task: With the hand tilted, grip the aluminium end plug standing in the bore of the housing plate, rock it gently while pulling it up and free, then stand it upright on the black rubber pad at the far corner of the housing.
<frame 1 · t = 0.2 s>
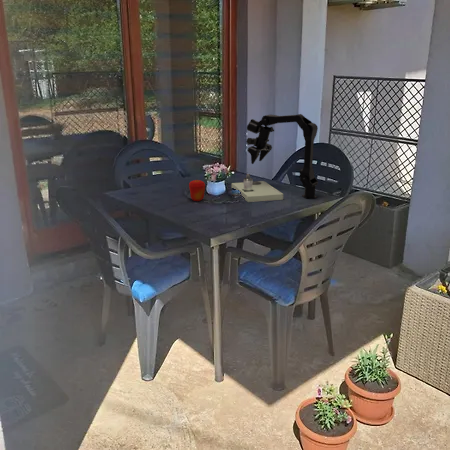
hand: (256, 162, 283), 15 cm above the table, tool tilted 15°, fingers open, 9 cm apart
housing: (256, 193, 277), on the table
end cover: (247, 195, 273), resting in housing
red cylinder: (197, 200, 264), on the table
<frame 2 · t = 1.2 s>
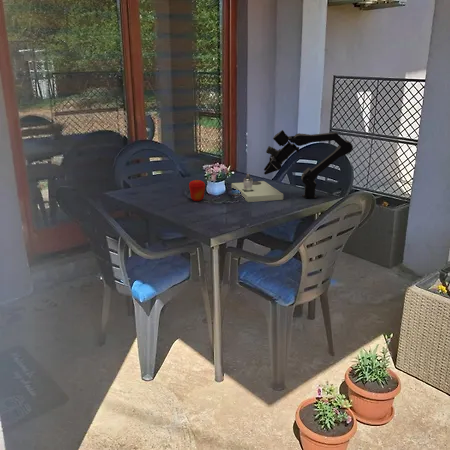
hand: (264, 172, 268), 13 cm above the table, tool tilted 45°, fingers open, 9 cm apart
nothing on the table moved.
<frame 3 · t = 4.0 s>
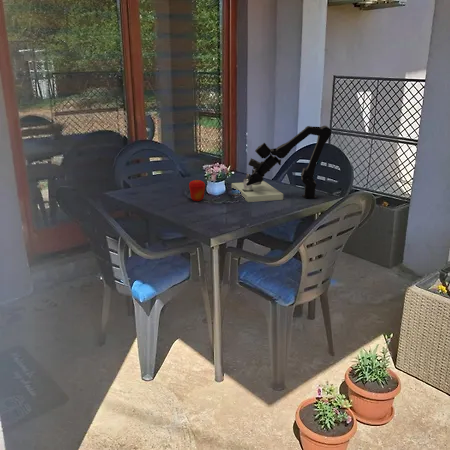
hand: (246, 183, 271), 7 cm above the table, tool tilted 45°, fingers closed on end cover, 5 cm apart
end cover: (247, 195, 273), resting in housing, touching gripper
everything else where it was.
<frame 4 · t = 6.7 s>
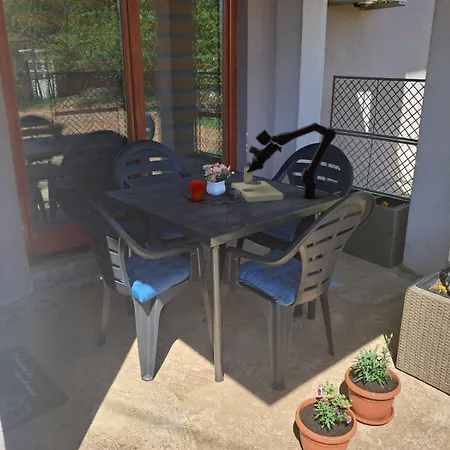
hand: (247, 171, 269), 13 cm above the table, tool tilted 45°, fingers closed on end cover, 5 cm apart
end cover: (248, 183, 271), point 7 cm above the table, touching gripper
everything else where it was.
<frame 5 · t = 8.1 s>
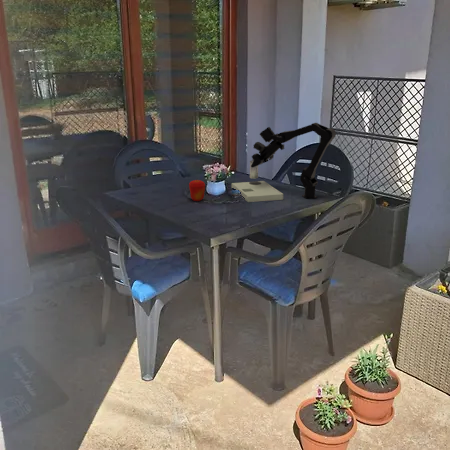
hand: (253, 166, 282), 13 cm above the table, tool tilted 45°, fingers closed on end cover, 5 cm apart
end cover: (253, 177, 284), point 7 cm above the table, touching gripper
everything else where it was.
when the fingers open (11 cm above the table, at t = 9.4 s): end cover drops 1 cm, resting on housing.
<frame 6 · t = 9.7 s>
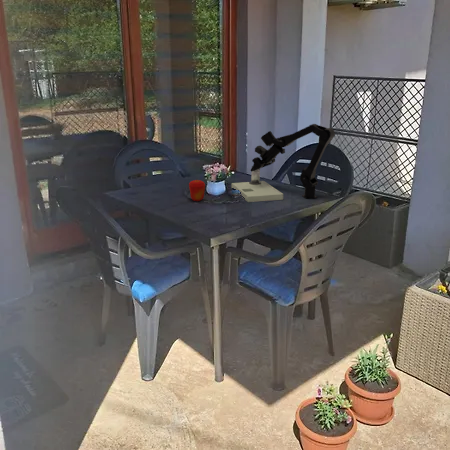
hand: (254, 169, 285), 11 cm above the table, tool tilted 45°, fingers open, 8 cm apart
end cover: (255, 182, 287), point 3 cm above the table, touching housing
everything else where it was.
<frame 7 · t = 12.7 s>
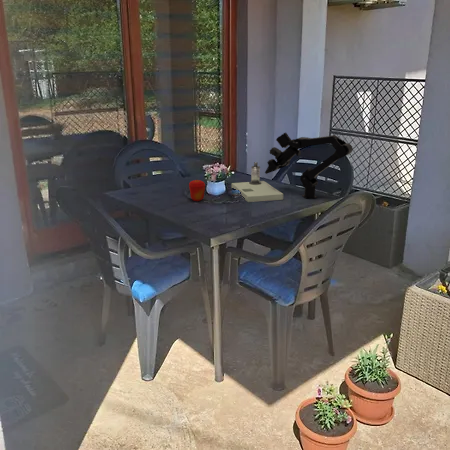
hand: (269, 171, 280), 11 cm above the table, tool tilted 45°, fingers open, 9 cm apart
nothing on the table moved.
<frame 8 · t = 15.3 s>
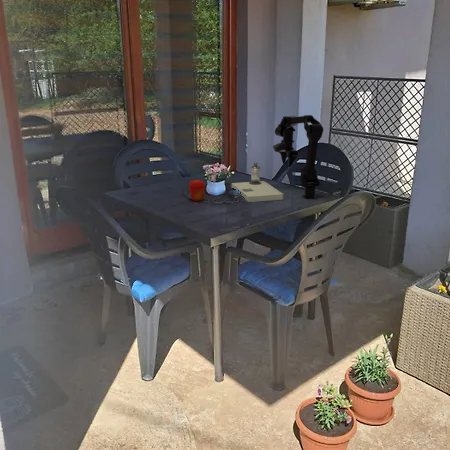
hand: (286, 165, 287), 13 cm above the table, tool pointing down, fingers open, 9 cm apart
nothing on the table moved.
at the end: end cover 0.0 cm from the target spot on the housing, point 3.3 cm above the housing's base; end cover tilted 0°; the gripper is holding nothing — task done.
